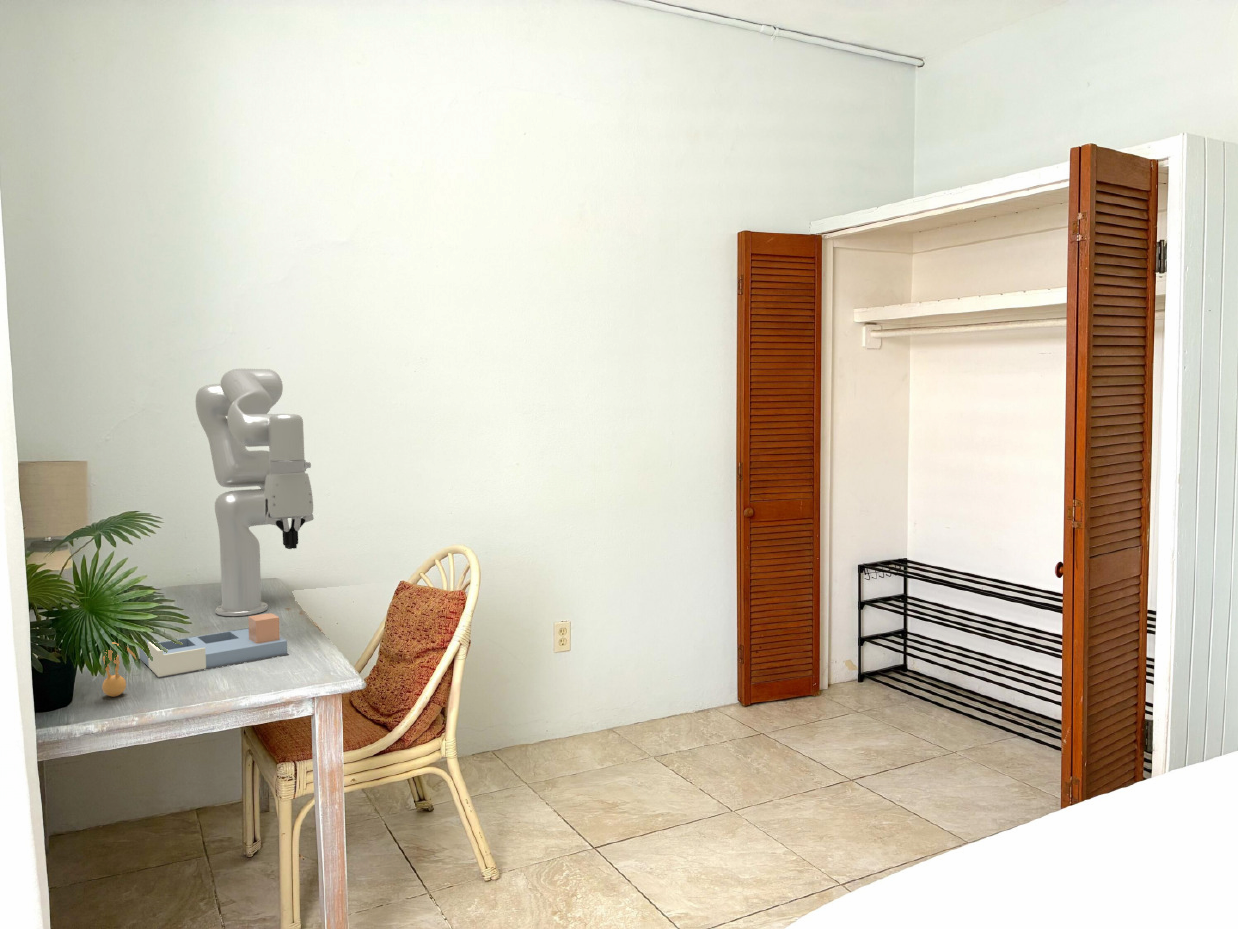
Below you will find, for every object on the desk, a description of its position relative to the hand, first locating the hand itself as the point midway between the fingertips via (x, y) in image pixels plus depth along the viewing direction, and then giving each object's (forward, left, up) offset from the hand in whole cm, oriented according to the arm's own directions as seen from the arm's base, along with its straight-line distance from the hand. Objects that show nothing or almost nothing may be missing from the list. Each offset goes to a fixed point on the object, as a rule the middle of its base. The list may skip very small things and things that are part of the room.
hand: (290, 548), depth 211 cm
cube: (+6, -9, -19) cm, 21 cm away
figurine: (+18, -41, -22) cm, 49 cm away
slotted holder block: (+2, -18, -22) cm, 28 cm away
